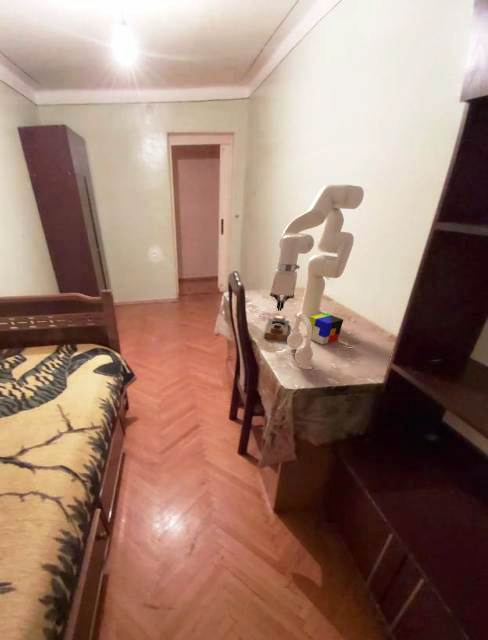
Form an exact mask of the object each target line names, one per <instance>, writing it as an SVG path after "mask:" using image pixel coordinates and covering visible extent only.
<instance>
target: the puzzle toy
mask: <svg viewBox="0 0 488 640" xmlns="http://www.w3.org/2000/svg"><path fill="white" fill-rule="evenodd" d="M327 313H328V312H326V313H325V314H320V315H315V316H311V317H310V322H311V327H312V335H311V341H314V342H316V343H318V344H320V345H325V344H330V343H333V342H336V341H338V340H339V337H340V334H341V329H342V327H343V323H344V319H343V318H340V317H338V316H335V315H332V314H330V313H328V314H327ZM306 336H307V334H306V335H305V337H306Z"/></svg>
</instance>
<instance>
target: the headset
mask: <svg viewBox="0 0 488 640" xmlns="http://www.w3.org/2000/svg"><path fill="white" fill-rule="evenodd" d="M301 322H302V323H303V325H304V326H305V327H306V335H307V336H306V335H305V345H303V343H304V335H303V334H302V332H301V331H300V330H301V329H300V328H299V327H300V324H301ZM311 335H312V327H311V322H310V320H309V319H308V318H307V316H306V315H304V314H301V315H298V317H297V316H296V320H295V323H294V326H293V328H292V329H291V332H290V334H289V335H288V336H287V338H286V343H287V346H288V347H289V348H290V349H292V350H296V351H295V354H294V359H295V361H296V362H297V363H298V367H300V368H302V369H307V370H312V369H313V366H312V365H309V362H311V360H312V358H313V356H314V352H313V349H312V347H311V343H312V339H311ZM302 345H303V346H302Z"/></svg>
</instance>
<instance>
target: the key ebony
mask: <svg viewBox="0 0 488 640" xmlns="http://www.w3.org/2000/svg"><path fill="white" fill-rule="evenodd" d="M280 327H281V324H279V323H275V325H274V328H280Z"/></svg>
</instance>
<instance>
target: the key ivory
mask: <svg viewBox="0 0 488 640" xmlns="http://www.w3.org/2000/svg"><path fill="white" fill-rule="evenodd" d="M275 317H276V321H282V319H283V318H284V316H283V315H276V316H275Z"/></svg>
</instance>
